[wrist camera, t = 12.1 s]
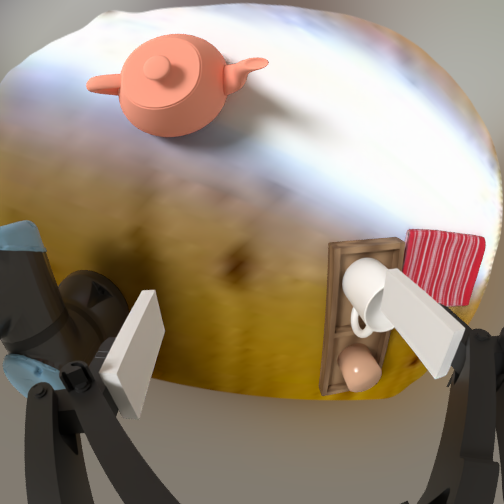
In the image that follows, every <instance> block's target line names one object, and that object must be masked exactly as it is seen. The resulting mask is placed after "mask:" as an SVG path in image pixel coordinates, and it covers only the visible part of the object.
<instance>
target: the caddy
mask: <svg viewBox="0 0 504 504" xmlns="http://www.w3.org/2000/svg"><path fill="white" fill-rule="evenodd" d="M404 249H405V242H404V241H402V240H401V239H399V238H397V237H391V238H379V239H367V240H355V241H343V242H332V243H329V244H328V278H327V298H326V315H325V328H324V341H323V352H322V362H321V372H320V381H319V389H320V392H321V395H322V396H325V395H331V394H336V393H341V392H345V391H350V390H349V388H348V386H347V384H346V382H345V379H344V377H343V375H342V373H341V370H340V368H339V366H338V363H337V359H338V356H339V354H340V353H341V352H342V351H343V350H344V349H345V348H346V347H348V346H350V345H352V344H356V343H362V344H365V345H366V346H367V347H368V349H369V350H370V352H371V354H372V355H373V357H374V359H375V360H376V362H377V364H378V365H379V367H380V369H381V368H382V365H383V361H384V357H385V353H386V349H387V345H388V341H389V337H390V333H391V330H389V331H386V332H375V331H373V333H372V334H371V335H369V336H368V337H366V338H360V337H358V336H357V335H356V334H355V333H354V332H353V330H352V326H351V312H352V309H353V305H352V304H351V302H350V301H349V300H348V298H347V297H346V295H345V293H344V291H343V287H342V280H343V276H344V274H345V272H346V270H347V269H348V267H349V266H350V265H351V264H352V263H354V262H355V261H357V260H359V259H362V258H373V259H376V260H378V261H379V262H381V263H382V264H383V265H384V266H385V267H386V268H388V269H395V268H397V269H399V270H400V271H401V272H402V265H403V258H404ZM358 323H359V326H360V328H361V329H362V330H363V329H364V328H365V327H366V324H365V323H364V321H363V320H362V318H361V317H360V315H359V316H358ZM376 384H377V383H376Z"/></svg>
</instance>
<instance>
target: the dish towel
mask: <svg viewBox="0 0 504 504" xmlns="http://www.w3.org/2000/svg"><path fill="white" fill-rule="evenodd" d="M485 245H486V244H485V239H484V237H481V236H476V235H470V234H460V233H455V232H447V231H439V230H423V229H422V230H421V229H409V230H408V231H407V233H406V239H405V249H404V258H403V265H402V273H403V274H405V275H406V276H407V277H408V278H409V279H411V280H412V281H413V282H414V283H415V284H417V285H418V286H419V287H420V288H421V289H422V290H424V291H425V292H426V293H427V294H428V295H429V296H430V297H432V298H433V299H434V300H435V301H436V302H437V303H441V304H443V305H445V306H447V307H450V306H466V305H469V300H470V297H471V294H472V291H473V287H474V284H475V281H476V278H477V275H478V271H479V268H480V265H481V261H482V258H483V255H484V251H485Z"/></svg>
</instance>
